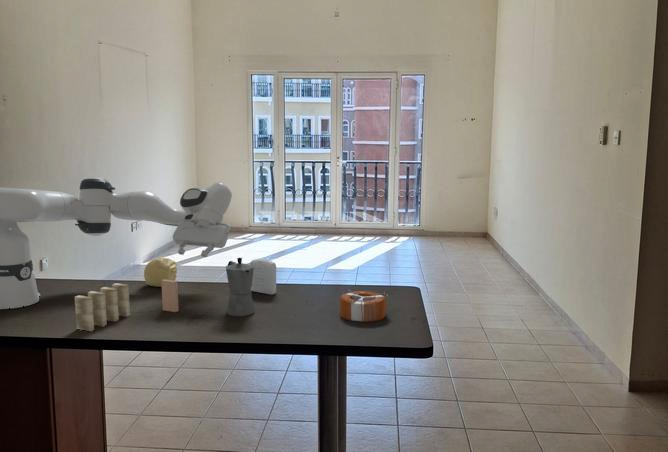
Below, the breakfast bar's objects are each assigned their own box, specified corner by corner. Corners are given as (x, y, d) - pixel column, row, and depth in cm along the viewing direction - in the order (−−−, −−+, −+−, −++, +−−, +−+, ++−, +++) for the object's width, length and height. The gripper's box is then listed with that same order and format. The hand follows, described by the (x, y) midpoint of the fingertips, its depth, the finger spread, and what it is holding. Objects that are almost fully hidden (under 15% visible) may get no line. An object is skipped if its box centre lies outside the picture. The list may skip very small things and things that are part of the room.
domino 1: (76, 329, 169) (74, 296, 167) (81, 327, 171) (78, 295, 169) (89, 331, 167) (87, 298, 166) (94, 330, 169) (92, 297, 167)
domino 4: (114, 314, 183) (112, 284, 181) (117, 313, 184) (115, 283, 183) (126, 316, 181) (124, 286, 179) (130, 315, 182) (128, 284, 181)
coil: (346, 306, 193) (389, 310, 189) (333, 320, 179) (380, 325, 175) (346, 286, 192) (390, 290, 188) (333, 299, 178) (380, 303, 174)
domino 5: (162, 310, 188) (161, 280, 186) (165, 308, 189) (164, 279, 188) (175, 312, 186) (174, 282, 184) (178, 310, 187) (177, 280, 186)
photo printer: (278, 292, 209) (277, 259, 207) (271, 295, 205) (270, 261, 203) (255, 288, 214) (254, 256, 212) (248, 291, 210) (247, 258, 208)
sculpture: (172, 289, 212) (171, 261, 211) (140, 289, 213) (138, 260, 211) (181, 281, 224) (180, 254, 222) (150, 281, 224) (149, 254, 222)
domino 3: (102, 319, 178) (100, 288, 177) (106, 318, 180) (104, 286, 178) (114, 321, 176) (113, 290, 175) (118, 320, 178) (116, 288, 176)
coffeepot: (263, 315, 183) (262, 259, 180) (235, 320, 178) (234, 263, 175) (242, 303, 196) (241, 251, 193) (216, 307, 191) (215, 254, 188)
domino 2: (89, 324, 174) (87, 292, 172) (93, 322, 175) (91, 291, 173) (102, 326, 172) (100, 294, 170) (106, 325, 173) (104, 292, 172)
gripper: (236, 229, 203) (221, 262, 195) (187, 225, 210) (172, 257, 203) (229, 218, 198) (213, 252, 191) (179, 215, 205) (163, 247, 198)
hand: (191, 254), depth 197 cm, fingers open, 8 cm apart
